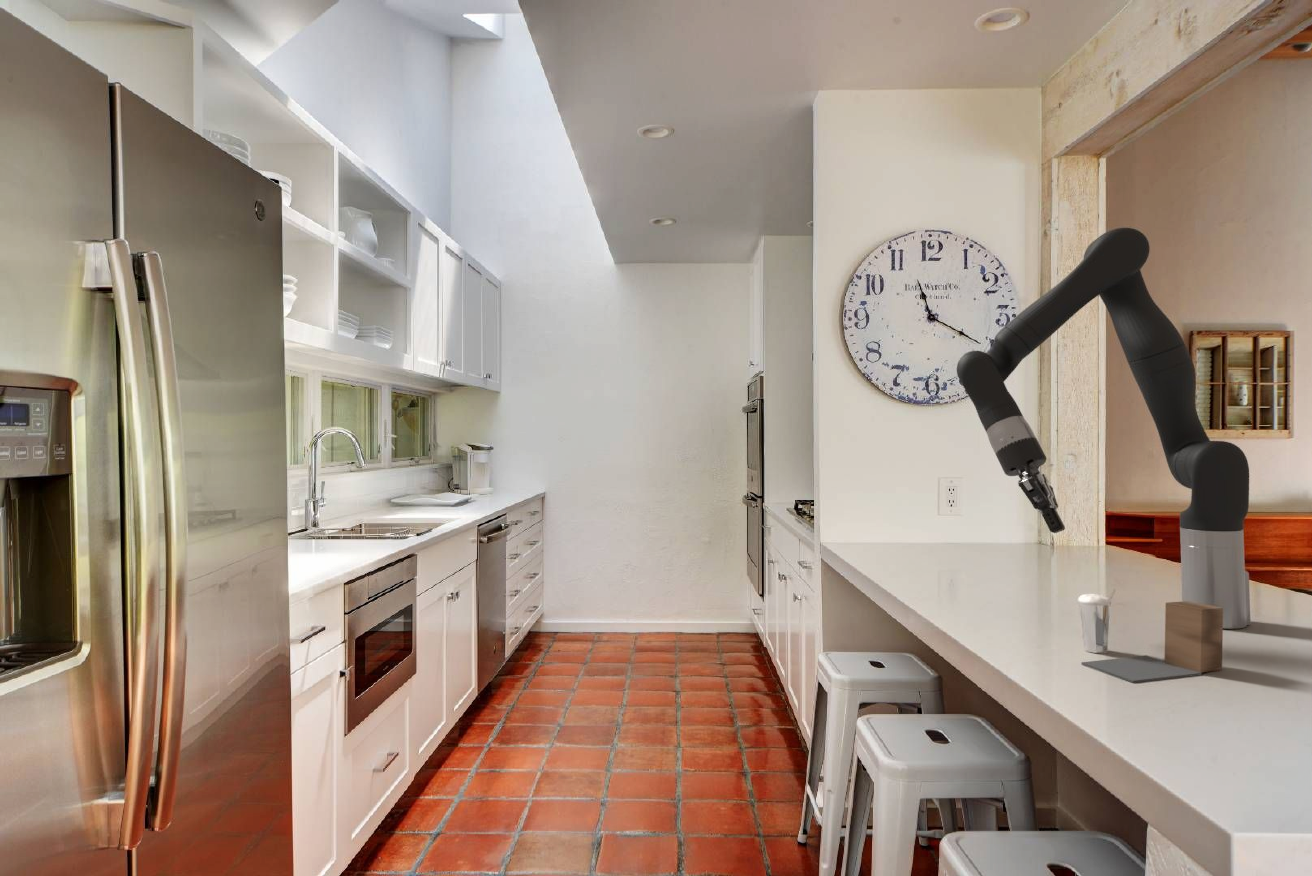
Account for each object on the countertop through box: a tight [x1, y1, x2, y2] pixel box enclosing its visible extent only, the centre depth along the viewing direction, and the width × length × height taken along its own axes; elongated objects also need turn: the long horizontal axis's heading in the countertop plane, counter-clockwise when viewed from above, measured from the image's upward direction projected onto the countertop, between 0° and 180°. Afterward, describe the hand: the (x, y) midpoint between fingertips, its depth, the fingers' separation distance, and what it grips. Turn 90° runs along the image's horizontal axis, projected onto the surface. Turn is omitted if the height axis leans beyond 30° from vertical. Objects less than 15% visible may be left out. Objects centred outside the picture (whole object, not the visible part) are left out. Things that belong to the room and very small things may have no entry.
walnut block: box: [1164, 601, 1224, 673], centre depth 107 cm, size 5×5×9 cm
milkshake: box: [1077, 588, 1117, 654], centre depth 117 cm, size 4×5×10 cm
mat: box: [1081, 655, 1203, 684], centre depth 107 cm, size 12×9×1 cm
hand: (1058, 531), depth 128 cm, fingers closed
